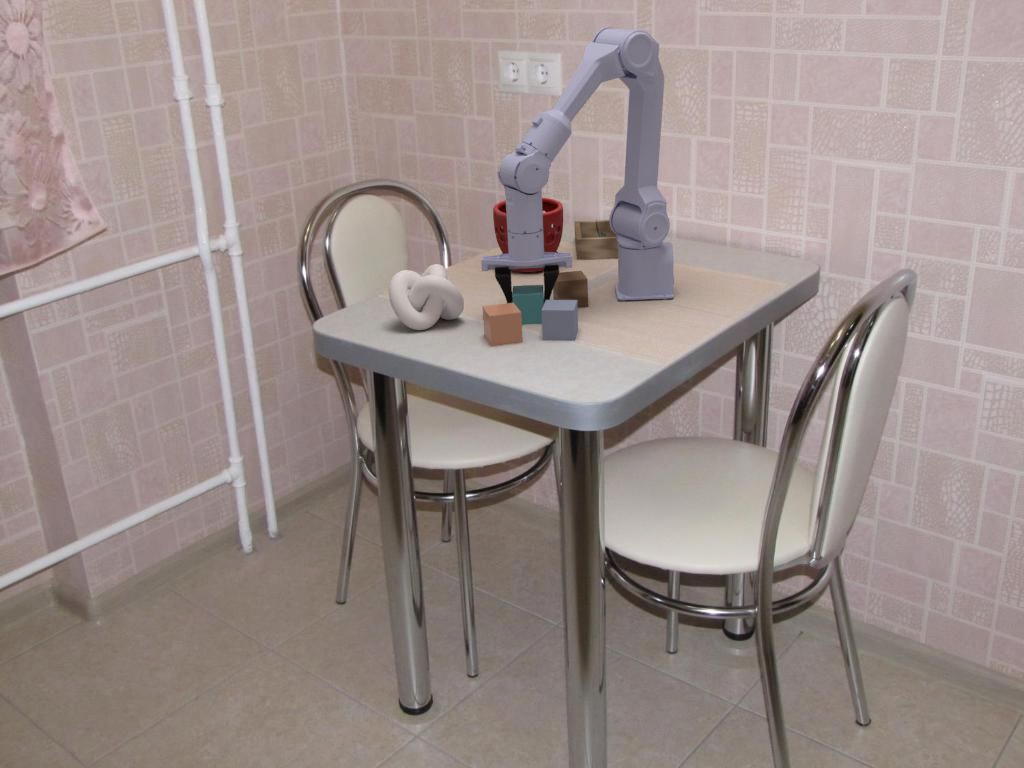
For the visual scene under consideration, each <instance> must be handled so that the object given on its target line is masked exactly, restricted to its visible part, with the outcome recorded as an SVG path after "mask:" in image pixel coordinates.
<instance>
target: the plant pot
mask: <svg viewBox="0 0 1024 768" xmlns="http://www.w3.org/2000/svg"><path fill="white" fill-rule="evenodd" d="M492 211H493V212H492V213H493V217H492V218H493V226H494V234H495V238H496V242H497V245H498V248H499V249H500V251H501V254H508V253H509V252H508V232H507V213H506V199H505V200H503V201H499V202H497V203H496V204H495V205H494V206H493V209H492ZM542 212H543V237H544V252H553V253H559V251H558V249H559V247H560V245H561V241H562V237H563V231H564V230H563V229H564V206H563V203H562V202H561V201H559V200H556V199H553V198H549V197H548V198H547V197H542ZM511 271H514V272H517V273H519V272H520V273H537V272H544V268H520V269H511Z"/></svg>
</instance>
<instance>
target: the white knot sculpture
mask: <svg viewBox="0 0 1024 768" xmlns="http://www.w3.org/2000/svg"><path fill="white" fill-rule="evenodd" d="M408 290H409V293H408ZM388 298H389V302H390V305H391V308H392V310H393V311H394V314H395V315H396V317H397V318H398V320H399V321H400V322H401V323H402V324H403V325H404V326H406V327H408V328H409V329H412V330H414V331H425V330H428V329H429V328H432V327H433V326H434V325H435V324H436V323H437V322H438V320H439V319H442V320H446V321H452V320H455V319H458V318H459V317H460V316H461V314H463V311H464V306H465V303H464V297H463V294H462V293H461V291H460V290H459V289H458V287H457V286H456V285H455V284H454V283H453V282H452V281H451V280H449V279H448V272H447V270H446V268H445V266H443V265H442V264H439V263H435V264H431V265H429V266H428V267H427V268H426V269H425V270H424V271H423V272H422V274H419V273H418V272H416V271H414V270H410V269H409V270H408V269H403V270H400V271H398V272H396V273H395V274H394V275H393V276H392V278H391V279H390V282H389V287H388Z"/></svg>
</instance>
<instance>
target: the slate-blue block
mask: <svg viewBox="0 0 1024 768" xmlns="http://www.w3.org/2000/svg"><path fill="white" fill-rule="evenodd" d="M578 310H579V308H578V305H577V300H553V299H550V300H546V301H545V303H544V306H543V308H542V324H541V327H542V328H541V331H542V333H541V334H542V341H576V338H577V334H578V331H579V319H578V318H579V313H578V312H579V311H578Z"/></svg>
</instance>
